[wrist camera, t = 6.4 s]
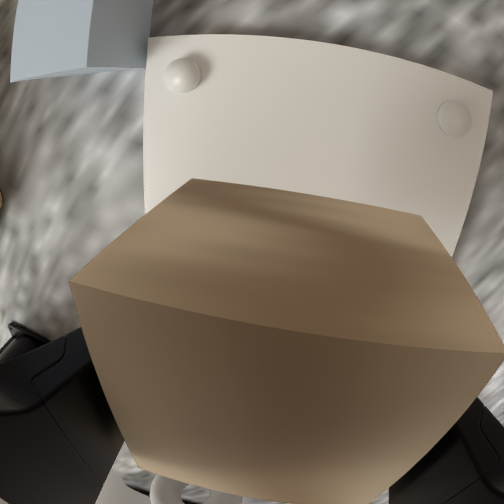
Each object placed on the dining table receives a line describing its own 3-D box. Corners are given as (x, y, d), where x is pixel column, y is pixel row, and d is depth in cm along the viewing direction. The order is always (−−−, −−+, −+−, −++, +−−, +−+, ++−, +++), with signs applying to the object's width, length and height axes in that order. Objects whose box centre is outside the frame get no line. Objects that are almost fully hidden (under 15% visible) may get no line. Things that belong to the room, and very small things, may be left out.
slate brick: (74, 75, 14) (10, 82, 10) (82, -2, 12) (20, -13, 8) (147, 68, 14) (86, 67, 9) (157, -18, 11) (101, -46, 7)
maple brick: (192, 347, 11) (138, 467, 7) (191, 178, 8) (69, 281, 4) (360, 375, 10) (364, 507, 6) (421, 215, 8) (508, 353, 3)
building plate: (159, 307, 21) (150, 321, 19) (157, 39, 13) (143, 36, 12) (402, 349, 19) (406, 365, 17) (483, 90, 11) (498, 91, 10)
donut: (173, 456, 32) (146, 524, 24) (161, 443, 31) (131, 515, 22) (254, 467, 30) (235, 545, 21) (247, 454, 28) (226, 539, 20)
